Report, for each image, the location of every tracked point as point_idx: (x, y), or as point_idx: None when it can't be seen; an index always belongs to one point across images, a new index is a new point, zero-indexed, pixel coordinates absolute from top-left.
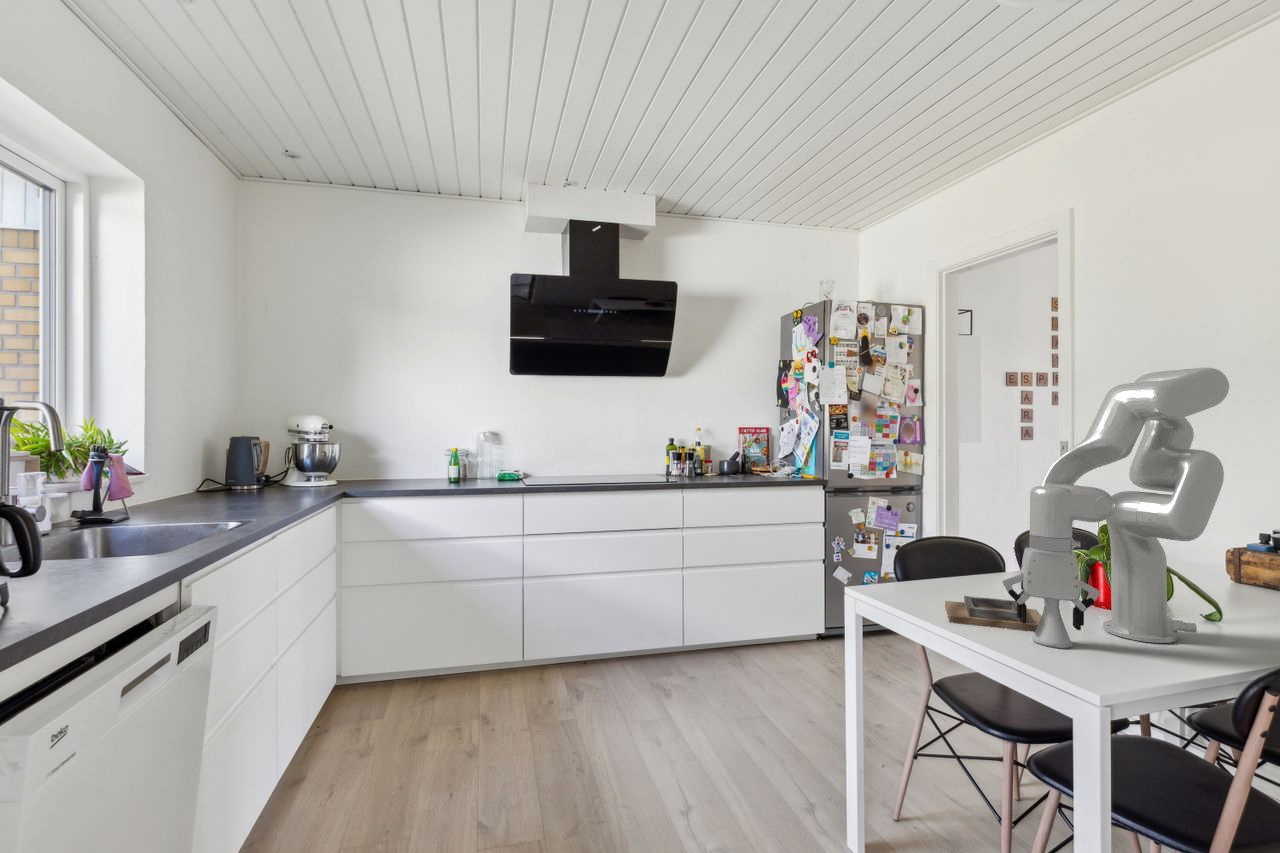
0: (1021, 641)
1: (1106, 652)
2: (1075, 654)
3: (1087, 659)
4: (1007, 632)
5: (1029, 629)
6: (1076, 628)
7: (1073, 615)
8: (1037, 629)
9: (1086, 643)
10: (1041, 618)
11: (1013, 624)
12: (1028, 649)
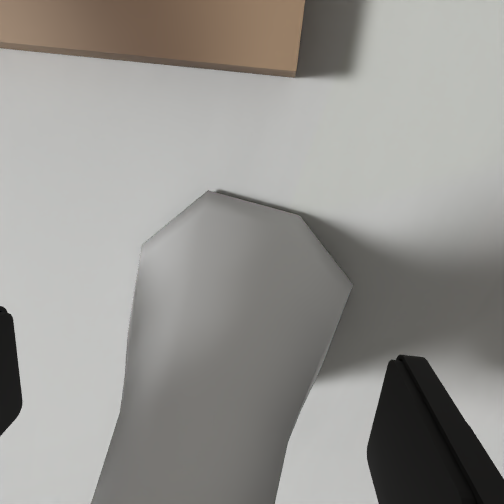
0: (73, 313)
1: (485, 386)
2: (295, 445)
3: (322, 493)
4: (8, 148)
5: (152, 62)
6: (368, 457)
7: (420, 451)
8: (127, 349)
9: (458, 252)
10: (121, 403)
11: (24, 47)
12: (91, 423)
